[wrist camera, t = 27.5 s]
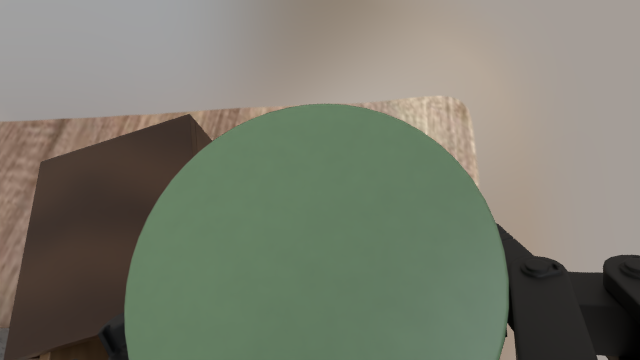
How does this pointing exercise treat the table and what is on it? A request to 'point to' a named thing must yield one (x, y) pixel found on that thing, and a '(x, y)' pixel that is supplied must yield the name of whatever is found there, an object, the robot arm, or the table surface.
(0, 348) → the grey concrete cylinder
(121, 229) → the cabinet
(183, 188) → the tin
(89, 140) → the table surface
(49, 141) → the table surface
